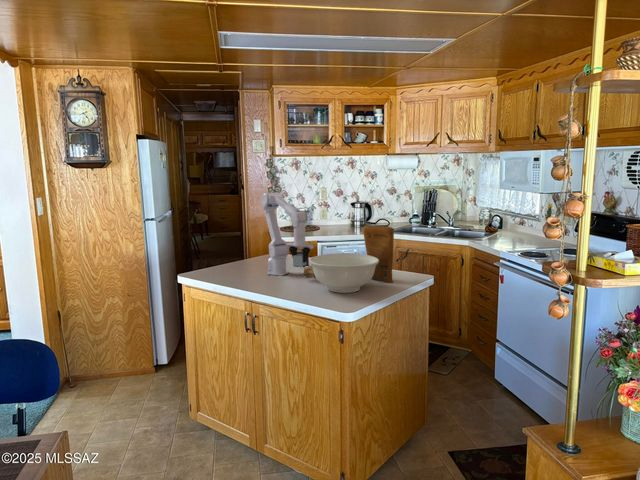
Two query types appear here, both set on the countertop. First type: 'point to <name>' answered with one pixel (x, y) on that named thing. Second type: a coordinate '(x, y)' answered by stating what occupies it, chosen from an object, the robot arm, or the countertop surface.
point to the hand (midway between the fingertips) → (299, 261)
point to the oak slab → (309, 270)
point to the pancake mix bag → (380, 250)
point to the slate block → (298, 260)
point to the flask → (307, 257)
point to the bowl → (344, 271)
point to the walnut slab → (308, 275)
